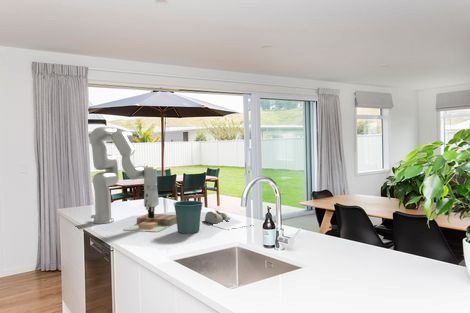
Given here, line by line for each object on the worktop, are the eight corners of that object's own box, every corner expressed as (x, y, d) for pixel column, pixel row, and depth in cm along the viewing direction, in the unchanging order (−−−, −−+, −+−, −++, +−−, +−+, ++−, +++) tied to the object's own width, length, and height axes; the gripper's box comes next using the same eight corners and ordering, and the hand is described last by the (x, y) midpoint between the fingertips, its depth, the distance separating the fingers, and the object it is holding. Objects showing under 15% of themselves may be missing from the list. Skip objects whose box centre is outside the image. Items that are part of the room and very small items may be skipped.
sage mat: (123, 230, 219) (123, 229, 219) (136, 224, 233) (136, 224, 233) (157, 232, 213) (157, 231, 213) (169, 226, 227) (169, 225, 227)
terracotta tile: (143, 221, 228) (143, 225, 228) (138, 224, 222) (138, 228, 222) (157, 222, 225) (157, 226, 225) (152, 224, 220) (152, 228, 220)
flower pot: (209, 229, 217) (208, 201, 217) (191, 236, 203) (191, 206, 203) (186, 226, 226) (185, 199, 225) (167, 232, 212) (167, 204, 211)
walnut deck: (136, 224, 234) (136, 217, 233) (148, 219, 247) (148, 213, 247) (169, 226, 228) (169, 219, 227) (179, 221, 241) (179, 215, 241)
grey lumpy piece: (197, 209, 242) (224, 205, 254) (198, 221, 243) (224, 217, 254) (226, 217, 216) (254, 213, 227) (226, 231, 216) (254, 226, 228)
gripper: (150, 189, 219) (150, 220, 220) (162, 186, 234) (162, 215, 235) (138, 189, 221) (139, 220, 222) (151, 185, 236) (151, 215, 237)
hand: (151, 217), depth 228 cm, fingers closed
